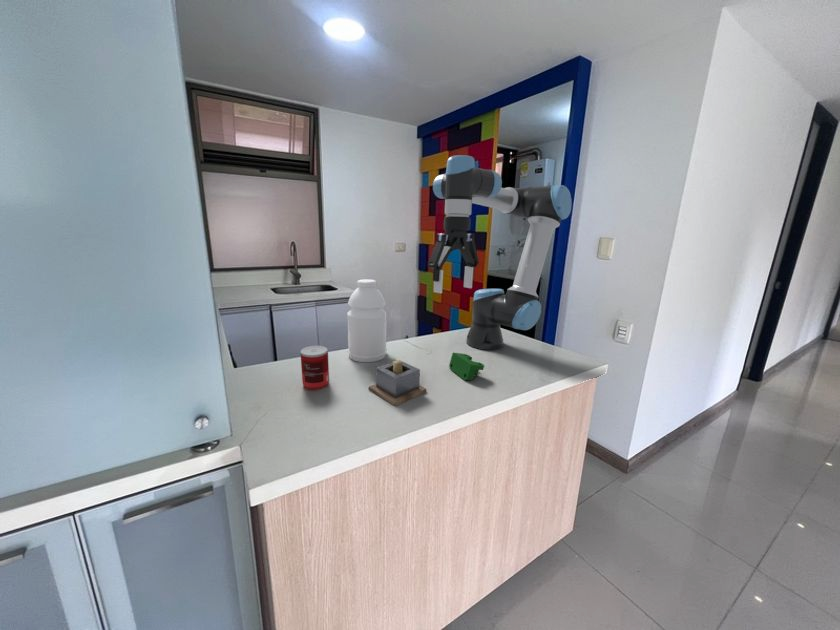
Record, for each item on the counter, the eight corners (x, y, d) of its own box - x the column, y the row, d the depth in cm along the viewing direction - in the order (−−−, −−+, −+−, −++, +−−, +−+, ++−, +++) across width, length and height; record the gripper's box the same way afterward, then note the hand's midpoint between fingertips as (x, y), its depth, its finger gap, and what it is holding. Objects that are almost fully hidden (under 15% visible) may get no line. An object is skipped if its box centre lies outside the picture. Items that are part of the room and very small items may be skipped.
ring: (399, 378, 104) (399, 360, 103) (419, 388, 98) (419, 369, 96) (376, 386, 98) (375, 367, 97) (395, 398, 92) (395, 378, 90)
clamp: (474, 389, 110) (488, 370, 105) (460, 388, 107) (473, 368, 103) (460, 363, 119) (472, 344, 114) (446, 362, 116) (458, 342, 111)
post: (399, 377, 106) (400, 351, 104) (426, 391, 98) (427, 363, 96) (368, 389, 98) (368, 361, 96) (394, 405, 90) (394, 375, 88)
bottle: (393, 353, 127) (394, 280, 119) (372, 366, 115) (371, 285, 107) (363, 346, 133) (362, 276, 125) (340, 357, 121) (337, 281, 114)
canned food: (321, 376, 106) (319, 343, 103) (334, 385, 101) (332, 350, 98) (297, 383, 101) (295, 349, 98) (310, 393, 95) (308, 357, 93)
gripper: (474, 217, 105) (469, 284, 111) (416, 214, 89) (414, 292, 94) (494, 217, 100) (488, 287, 106) (436, 214, 84) (433, 297, 89)
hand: (453, 290), depth 100 cm, fingers open, 13 cm apart
